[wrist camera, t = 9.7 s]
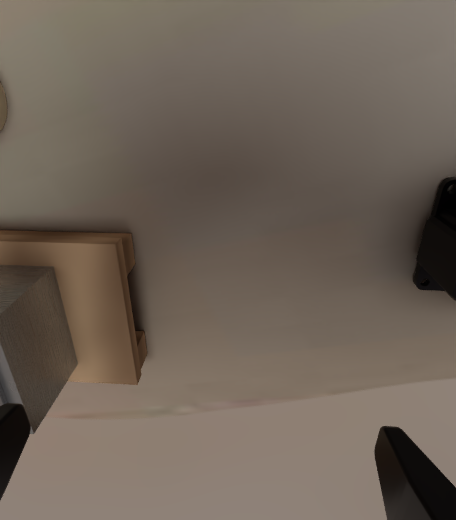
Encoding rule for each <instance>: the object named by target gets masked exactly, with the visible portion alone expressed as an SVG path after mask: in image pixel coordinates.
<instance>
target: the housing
mask: <svg viewBox="0 0 456 520" xmlns="http://www.w3.org/2000/svg"><path fill="white" fill-rule="evenodd" d="M77 365H78V361H77V357H76V353H75V349H74V345H73V341H72V337H71V333H70V329H69V325H68V321H67V317H66V313H65V309H64V305H63V301H62V297H61V293H60V289H59V285H58V281H57V278H56V274H55V270H54V266H28V265H0V406H1V405H3V404H6V403H17V404H22V405H23V406H24V408H25V411H26V414H27V416H28V419H29V421H30V424H31V431H30V434H34V433H35V431H36V430H37V428H38V427H39V425H40V423H41V422H42V420H43V419H44V417H45V416H46V414H47V412H48V411H49V409H50V408H51V406H52V405H53V403H54V401H55V400H56V398H57V397H58V395H59V393H60V392H61V390H62V389H63V387H64V385H65V384H66V382H67V381H68V379H69V378H70V376H71V374H72V373H73V371H74V370H75V368H76V366H77Z"/></svg>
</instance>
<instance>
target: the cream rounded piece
mask: <svg viewBox="0 0 456 520" xmlns="http://www.w3.org/2000/svg"><path fill="white" fill-rule="evenodd" d="M6 117H7V101H6V96H5V92H4V89H3V86H2V84H1V82H0V132H1V131H2V129H3V127H4V125H5V122H6Z"/></svg>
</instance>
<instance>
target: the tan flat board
mask: <svg viewBox="0 0 456 520" xmlns="http://www.w3.org/2000/svg"><path fill="white" fill-rule="evenodd" d="M0 265H28V266H54V270H55V274H56V278H57V281H58V285H59V289H60V293H61V297H62V301H63V305H64V309H65V313H66V317H67V321H68V325H69V329H70V333H71V337H72V341H73V345H74V349H75V353H76V357H77V361H78V365H77V366H76V368H75V370H74V371H73V373H72V374H71V376H70V378H69V379H68V381H71V382H91V383H111V384H131V385H138V382H139V379H140V377H141V368H142V366H143V363H144V361H145V358H146V356H147V348H146V341H145V333H144V331H135V328H134V321H133V314H132V307H131V300H130V294H129V287H128V280H127V275H128V274H129V272H130V271H131V269H132V268H133V266H134V265H135V257H134V250H133V242H132V235H131V234H128V233H89V232H51V231H12V230H0Z"/></svg>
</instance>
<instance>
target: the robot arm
mask: <svg viewBox="0 0 456 520" xmlns="http://www.w3.org/2000/svg"><path fill="white" fill-rule="evenodd" d="M453 184H454V188H453V190H451V191H450V192H448V187H449V186H450V185H453ZM416 260H417V261H418V264H417V268H416V271H415V275H414V279H413V282H414V284H415V285H416V287H417V288H419V289H420V290H438V291H446V292H447V293H448V294H449V295H450V296H451V297H452V298H453V299H454V300H456V178H447V179H445V180H443V182H442V183H441V184H440V186H439V189H438V192H437V196H436V199H435V203H434V207H433V210H432V214H431V217H429V218H428V219H427V221H426V225H425V228H424V232H423V236H422V239H421V243H420V247H419V250H418V254H417V258H416ZM423 279H427V280H426V281H425V282H424V283H421V281H422V280H423ZM30 431H31V424H30V421H29V419H28V416H27V414H26V411H25V408H24V406H23V405H22V404H17V403H6V404H3V405H1V406H0V500H1V498H2V496H3V494H4V492H5V489H6V487H7V485H8V483H9V481H10V478H11V476H12V474H13V471H14V469H15V467H16V465H17V462H18V460H19V458H20V455H21V453H22V451H23V448H24V446H25V444H26V442H27V439H28V437H29V434H30ZM375 461H376V466H377V471H378V476H379V481H380V485H381V491H382V496H383V501H384V506H385V511H386V515H387V520H456V488H455V486H454V485H453V484H452V483H451V482H450V481H449V480H448V479H447V478H446V477H445V476H444V474H443V473H442V472H441V471H440V470H439V469H438V468H437V467H436V466H435V465H434V464H433V463H432V462H431V460H430V459H429V458H428V457H427V456H426V455H425V454H424V453H423V452H422V451H421V450H420V449H419V448H418V446H416V444H415V443H414V442H413V441H412V440H411V439H410V438H409V437H408V436H407V434H406V433H405V432H404V431H403V430H402V429H400V428H399V427H391V426H383V427H381V428H380V431H379V434H378V438H377V442H376V445H375Z"/></svg>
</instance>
